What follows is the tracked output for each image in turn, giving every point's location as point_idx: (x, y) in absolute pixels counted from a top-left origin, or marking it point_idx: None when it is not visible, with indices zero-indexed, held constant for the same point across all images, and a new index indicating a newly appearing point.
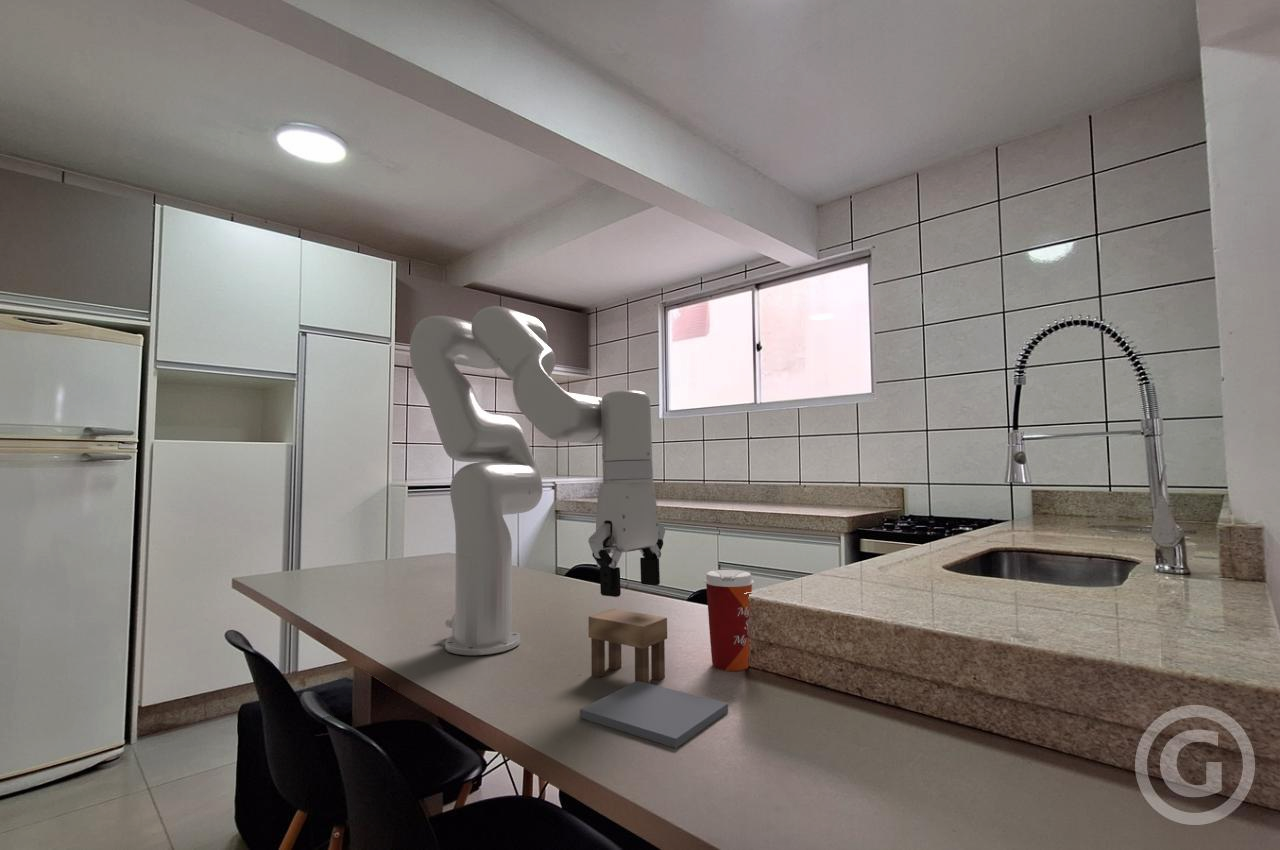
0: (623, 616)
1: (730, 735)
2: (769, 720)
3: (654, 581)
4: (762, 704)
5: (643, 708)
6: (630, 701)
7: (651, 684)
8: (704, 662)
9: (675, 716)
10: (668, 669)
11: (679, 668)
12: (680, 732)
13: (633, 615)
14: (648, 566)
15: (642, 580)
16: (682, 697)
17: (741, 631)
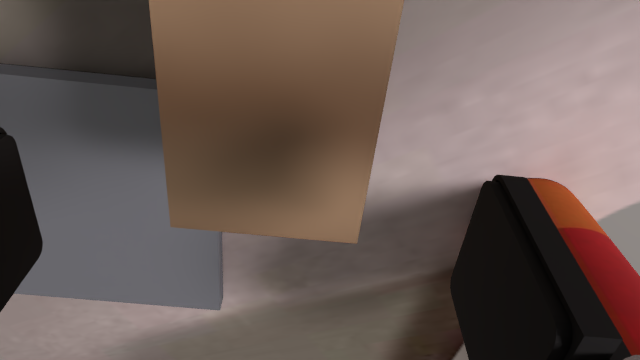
0: (272, 66)
1: (134, 324)
2: (232, 350)
3: (458, 287)
4: (296, 329)
5: (68, 195)
6: (77, 151)
7: None
8: (530, 154)
9: (89, 260)
10: (422, 88)
11: (445, 113)
12: (39, 290)
13: (321, 101)
14: (503, 341)
15: (488, 202)
16: (187, 235)
17: None
